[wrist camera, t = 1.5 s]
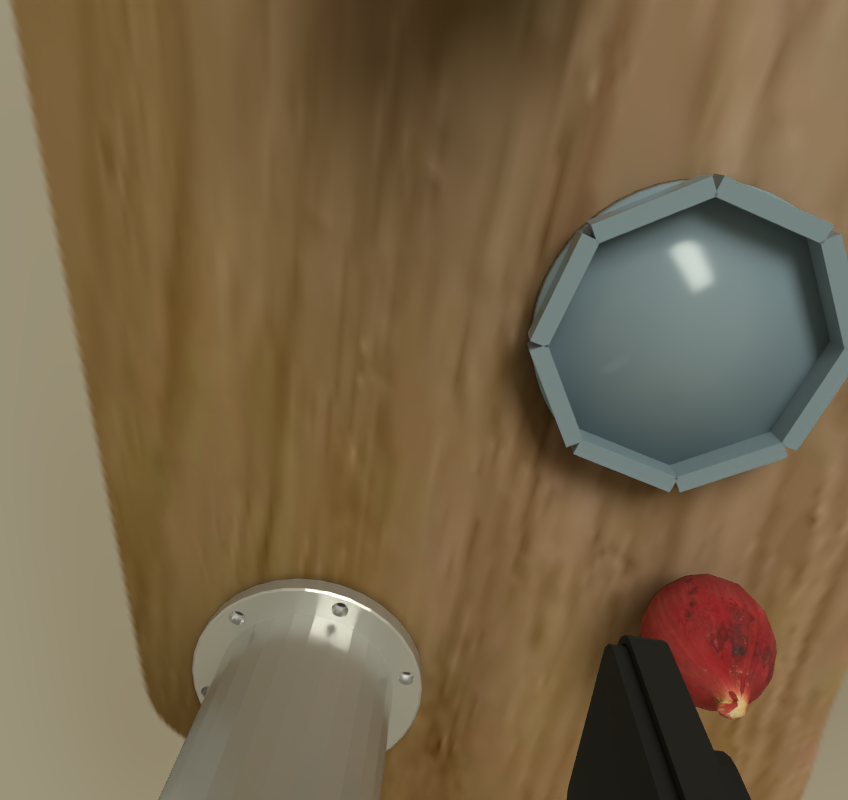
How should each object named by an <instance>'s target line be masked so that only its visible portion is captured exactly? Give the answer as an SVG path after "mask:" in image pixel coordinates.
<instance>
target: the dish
mask: <svg viewBox="0 0 848 800" xmlns="http://www.w3.org/2000/svg"><path fill="white" fill-rule="evenodd" d="M833 227H834V225H833V224H831V223H829V222H827V221H824V220H822V219H820V218H818V217H816V216H813V215H811V214H809V213H807V212H804V211H802V210H800V209H798V208H796V207H794V206H792V205H791V204H790V203H788V202H786V201H785V200H783V199H781V198H779V197H777V196H775V195H774V194H772V193H770V192H767V191H764V190H761V189H759V188H756V187H753V186H750V185H745V184H742V183H740V182H738V181H735V180H733V179H731V178H729V177H727V176H724V175H718V174H714V176H711V175H706V174H701V175H698V176H696V177H693V178H691V179H679V180H674V181H669V182H664V183H659V184H655V185H652V186H649V187H646V188H643V189H640V190H637V191H635V192H633V193H631V194H629V195H627V196H625V197H623V198H621V199H618V200H616V201H615V202H613V203H612V204H610V205H609V206H607V207H606V208H604V209H603V210H601V211H599V212H598V213H597V214H596V215H594V216H593V217H592V218H591V219H590V220H588V221H586V223H585V224H584V225H582V226H581V227H580V228H579V229H577V231H576V233H575V234H574V235H573V236H572V237H571V238H570V239H569V240H568V241H567V242H566V244H565V245H564V247H563V248H562V249H561V251H560V252H559V253H558V255H557V256H556V257H555V259H554V261H553V263H552V264H551V266H550V268H549V270H548V272H547V273H546V275H545V277H544V280H543V282H542V285H541V287H540V290H539V292H538V295H537V299H536V303H535V307H534V311H533V316H532V324H531V327H530V329H529V331H528V336H529V339H530V341H531V342H529V343H527V344H528V348H529V351H530V354H531V356H532V360H533V366H534V370H535V374H536V377H537V380H538V384H539V387H540V390H541V393H542V395H543V397H544V399H545V402H546V404H547V406H548V408H549V410H550V411H551V413H552V414H553V416H554V417H555V419H556V422H557V424H558V427H559V429H560V432H561V435H562V437H563V440H564V443H565V445H566V447H568V446H571V449H572V452H573V454H574V455H577V456H579V457H582V458H584V459H587V460H589V461H592V462H594V463H597V464H599V465H602V466H604V467H607V468H610V469H612V470H615V471H617V472H620V473H622V474H625V475H627V476H630V477H632V478H635V479H637V480H640V481H642V482H645V483H647V484H650V485H652V486H655V487H657V488H660V489H662V490H665V491H667V492H670V491H671V489H672V487H673V486H674V484H675V485H676V487H677V489H678V490H679V492H683V491H686V490H689V489H692V488H696V487H699V486H702V485H705V484H708V483H711V482H714V481H717V480H720V479H723V478H726V477H729V476H733V475H736V474H739V473H742V472H745V471H748V470H751V469H754V468H757V467H760V466H763V465H766V464H770V463H773V462H776V461H779V460H782V459H785V458H788V456H787V453H786V449H785V446H786V447H789V448H791V449H793V450H796V451H797V450H798V448H799V447H800V446H801V444H802V443H803V441H804V440H805V438H806V437H807V435H808V434H809V432H810V431H811V429H812V428H813V426H814V425H815V423H816V422H817V421H818V419H819V418H820V416H821V415H822V413H823V412H824V410H825V409H826V407H827V406H828V404H829V403H830V401H831V400H832V398H833V397H834V396H835V394H836V393H837V391H838V390H839V388H840V387H841V385H842V384H843V382H844V381H845V379H846V378H847V376H848V262H847V257H846V252H845V248H844V243H843V238H842V234H841V233H837V232H834V231H831V230H832V228H833Z"/></svg>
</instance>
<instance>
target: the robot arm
mask: <svg viewBox="0 0 848 800" xmlns="http://www.w3.org/2000/svg"><path fill="white" fill-rule="evenodd" d="M192 674H193V681H194V688H195V691H196V693H197V696H198V699H199V701H200V704H201V706H200V709H199V711H198V713H197V715H196V718H195V720H194V722H193V724H192V726H191V729H190V731H189V733H188V735H187V738H186V740H185V742H184V744H183V746H182V749H181V751H180V753H179V755H178V757H177V760H176V762H175V764H174V767H173V769H172V771H171V773H170V775H169V777H168V780H167V782H166V784H165V786H164V789H163V791H162V793H161V795H160V797H159V800H380V797H381V789H382V780H383V772H384V764H385V756H386V751H387V750H389V749H390V748H392V747H393V746H394V745H395V744H396V743H397V742H398V741H399V740H400V739H401V738H402V737H403V736H404V735H405V734H406V732H407V731H408V729H409V728H410V726H411V725H412V724H413V722H414V720H415V717H416V715H417V712H418V709H419V707H420V700H421V693H422V667H421V662H420V658H419V654H418V651H417V649H416V647H415V645H414V643H413V641H412V639H411V637H410V635H409V634H408V632H407V631H406V630H405V628H404V627H403V626H402V625H401V623H400V622H399V621H398V619H396V618H395V617H394V616H393V615H392V614H391V613H390V612H389V611H387V610H386V609H385V608H384V607H383V606H382V605H380V604H378V603H377V602H375V601H374V600H372V599H370V598H369V597H367V596H366V595H364V594H362V593H359V592H357V591H355V590H352V589H350V588H347V587H345V586H342V585H338V584H334V583H330V582H326V581H321V580H311V579H298V578H297V579H285V580H275V581H271V582H267V583H263V584H260V585H256V586H253V587H251V588H249V589H247V590H245V591H243V592H240V593H238V594H236V595H235V596H234V597H232V598H231V599H230V600H228V601H227V602H226V603H224V604H223V605H222V606H220V608H219V609H218V610H217V611H216V612H215V614H214V615H213V616H212V617H211V618H210V619H209V621H208V623H207V625H206V627H205V629H204V630H203V632H202V634H201V636H200V638H199V640H198V643H197V646H196V649H195V652H194V656H193V666H192ZM567 800H751V798H750V796H749V794H748V792H747V789H746V787H745V785H744V783H743V781H742V778H741V776H740V774H739V772H738V770H737V768H736V766H735V764H734V763H733V761H732V759H731V757H729V756H728V755H727V754H726V753H725V752H723V751H715V750H713V748H712V745H711V743H710V741H709V738H708V736H707V734H706V731H705V729H704V727H703V724H702V722H701V719H700V717H699V715H698V712H697V710H696V708H695V705H694V703H693V701H692V698H691V696H690V694H689V691H688V689H687V687H686V684H685V682H684V680H683V677H682V675H681V672H680V670H679V668H678V665H677V663H676V661H675V658H674V656H673V654H672V651H671V649H670V647H669V645H668V644H667V642H665V641H664V640H658V639H650V638H643V637H635V636H628V635H624V636H622V637H621V638H620V640H619V642H618V645H613V644H608V645H607V646H606V647H605V650H604V653H603V656H602V660H601V664H600V668H599V672H598V675H597V679H596V683H595V687H594V691H593V695H592V698H591V702H590V706H589V710H588V714H587V718H586V721H585V725H584V729H583V733H582V737H581V741H580V744H579V748H578V752H577V756H576V760H575V763H574V767H573V771H572V775H571V779H570V783H569V787H568V792H567Z"/></svg>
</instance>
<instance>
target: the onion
mask: <svg viewBox="0 0 848 800" xmlns="http://www.w3.org/2000/svg"><path fill="white" fill-rule="evenodd" d="M641 637H643V638H650V639H658V640H664V641H665V642H667V644H668V645H669V647H670V649H671V651H672V654H673V656H674V658H675V661H676V663H677V665H678V668H679V670H680V672H681V675H682V677H683V680H684V682H685V684H686V687H687V689H688V691H689V694H690V696H691V698H692V701H693V703H694V705H695V707H699V708H702V709H706V710H709V711H718V712H719V714H720V715H722V716H724V717H726V718H728V719H730V720H735V719H737V718H740V717H744V716H745V712H746V709H747V706H748V704H750V703H751V702H752V701H754V700H755V699H757V698H758V697H759V696H760V695H761V694H762V692H763V691H764V689H765V688H766V687H767V685H768V684H769V682H770V680H771V678H772V676H773V671H774V665H775V659H776V653H777V652H776V640H775V638H774V635H773V632H772V629H771V626H770V623H769V621H768V618H767V616H766V613H765V611H764V610H763V609H762V608H761V607H760V605H759V604H758V603H757V602H756V601H755V600H754V599H753V598H752V597H751V596H750V595H749V594H748V593H747V592H746V591H745V590H744V589H743V588H742V587H741V586H740V585H739V584H736V583H733V582H731V581H728V580H725V579H722V578H719V577H716V576H713V575H710V574H699V575H689V576H684V577H682V578H680V579H678V580H676V581H673V582H671V583H669V584H667V585H666V586H665V587H664V588H663V589H661V590H660V591H659V592H658V593H657V594H656V595H655V596H654V597H653V598H652V600H651V602H650V603H649V605H648V607H647V609H646V611H645V614H644V616H643V618H642V620H641Z"/></svg>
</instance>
